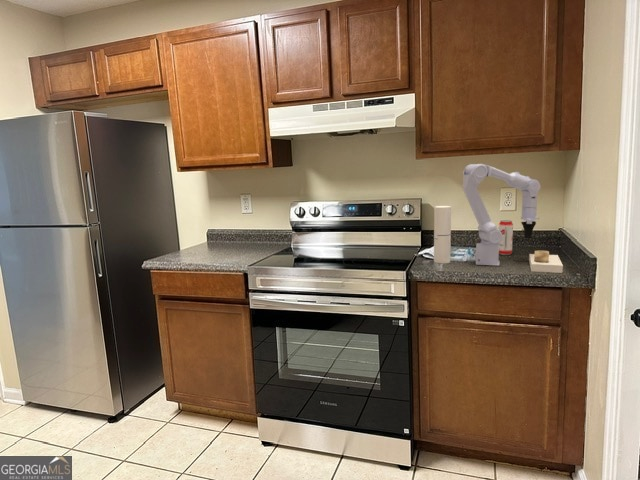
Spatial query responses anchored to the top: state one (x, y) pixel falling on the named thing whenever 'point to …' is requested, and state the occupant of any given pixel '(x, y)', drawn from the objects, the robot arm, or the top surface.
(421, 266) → the top surface
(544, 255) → the peg
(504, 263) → the top surface
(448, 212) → the cylindrical container
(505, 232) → the beer can
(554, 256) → the board
